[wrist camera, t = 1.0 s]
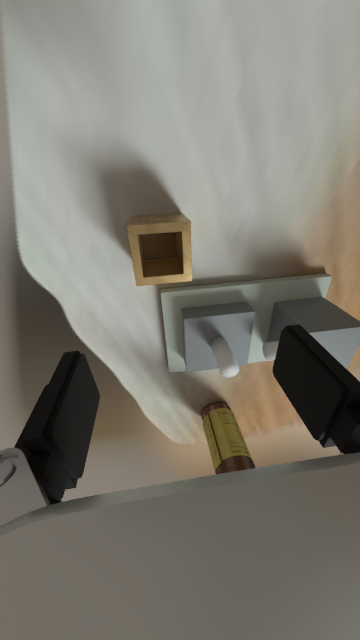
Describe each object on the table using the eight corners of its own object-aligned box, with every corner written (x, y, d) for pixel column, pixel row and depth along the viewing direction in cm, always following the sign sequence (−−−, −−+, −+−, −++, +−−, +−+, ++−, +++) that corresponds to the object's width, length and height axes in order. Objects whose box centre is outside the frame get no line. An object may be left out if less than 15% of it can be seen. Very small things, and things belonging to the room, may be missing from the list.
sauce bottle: (213, 424, 46) (250, 562, 30) (194, 412, 43) (222, 557, 27) (238, 408, 44) (293, 545, 28) (220, 395, 42) (268, 538, 25)
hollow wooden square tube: (131, 216, 24) (126, 225, 19) (182, 213, 25) (190, 221, 20) (138, 266, 27) (136, 286, 22) (184, 262, 28) (192, 280, 23)
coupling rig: (160, 289, 29) (164, 326, 21) (326, 273, 31) (384, 302, 23) (168, 367, 36) (173, 416, 29) (302, 351, 38) (340, 393, 31)
